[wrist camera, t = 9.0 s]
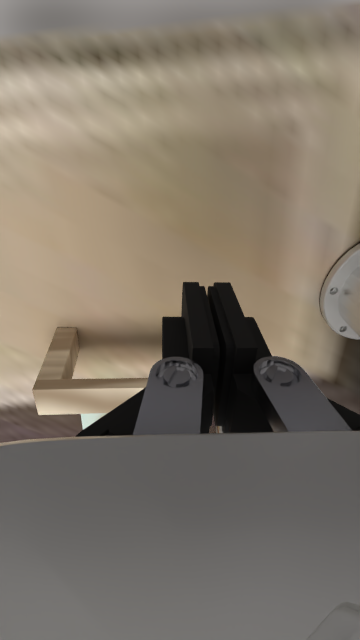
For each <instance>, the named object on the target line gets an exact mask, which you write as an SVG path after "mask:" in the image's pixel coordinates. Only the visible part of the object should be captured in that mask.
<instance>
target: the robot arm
mask: <svg viewBox="0 0 360 640" xmlns="http://www.w3.org/2000/svg"><path fill="white" fill-rule="evenodd" d="M320 309H321V312H322V316H323V318H324V319H325V321H326V323H327V324H328V325H329V326H330V327H331V328H332V330H334V331H335V332H336V333H337V334H339V335H341V336H344V337H346V338H351V339H360V243H359V244H358V245H356V246H355V247H353V248H352V249H351V250H349V251H348V252H347V253H346V254H345V255H344V256H343V257H342V258H341V259H340V260H339V261H338V262H337V263H336V264H335V266H334V267H333V268H332V270H331V271H330V273H329V275H328V276H327V278H326V280H325V282H324V285H323V288H322V291H321V297H320ZM213 415H214V420H215V425H216V426H221V427H222V432H223V433H209V427H210V426H211V424H212V417H213ZM0 640H360V415H359V414H357V413H355V412H353V411H351V410H349V409H347V408H345V407H343V406H341V405H339V404H337V403H335V402H333V401H331V400H329V399H327V398H326V397H325V396H324V394H323V393H322V392H321V391H320V389H319V388H318V387H317V386H316V384H315V383H314V382H313V381H312V379H311V378H310V377H309V376H308V374H307V373H306V372H305V371H304V369H303V368H302V367H300V366H299V365H298V364H297V363H295V362H293V361H291V360H289V359H286V358H283V357H277V356H272V355H271V353H270V351H269V349H268V347H267V345H266V343H265V340H264V338H263V336H262V334H261V332H260V330H259V328H258V325H257V323H256V321H255V319H254V318H253V317H244V314H243V312H242V310H241V307H240V305H239V302H238V300H237V298H236V295H235V293H234V291H233V288H232V286H231V284H230V283H216V282H215V283H214V286H209V287H208V294H206V291H205V287H204V286H199V283H198V282H183V292H182V316H181V317H163V318H162V360H160V361H158V362H156V363H155V364H154V365H153V367H152V368H151V370H150V374H149V377H148V381H147V385H146V387H145V388H144V389H143V390H141V391H140V392H138V393H137V394H135V395H134V396H132V397H131V398H129V399H128V400H126V401H125V402H123V403H122V404H120V405H119V406H117V407H116V408H115V409H113V410H112V411H110V412H109V413H107V414H106V415H104V416H103V417H101V418H100V419H98V420H97V421H95V422H94V423H92V424H91V425H90V426H88V427H87V428H85V429H84V430H82V431H81V432H80V433H79V434H78V435H77V436H76V437H64V438H47V439H30V440H21V441H13V442H5V443H0Z"/></svg>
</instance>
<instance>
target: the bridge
mask: <svg viewBox="0 0 360 640" xmlns="http://www.w3.org/2000/svg"><path fill="white" fill-rule="evenodd" d="M78 353H79V343H78V335H77V328H57V329H56V332H55V334H54V337H53V339H52V342H51V344H50V347H49V349H48V352H47V354H46V357H45V359H44V362H43V365H42V367H41V370H40V372H39V375H38V377H37V380H36V382H35V385H34V387H33V394H34V399H35V403H36V407H37V411H38V415H52V414H90V413H109V412H110V411H112V410H113V409H115V408H116V407H117V406H119V405H120V404H122V403H123V402H125V401H126V400H128V399H129V398H131V397H132V396H134V395H135V394H137V393H138V392H140V391H141V390H143V389H144V388H145V387H146V385H147V381H148V378H124V379H72V376H73V372H74V368H75V364H76V361H77V357H78Z"/></svg>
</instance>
